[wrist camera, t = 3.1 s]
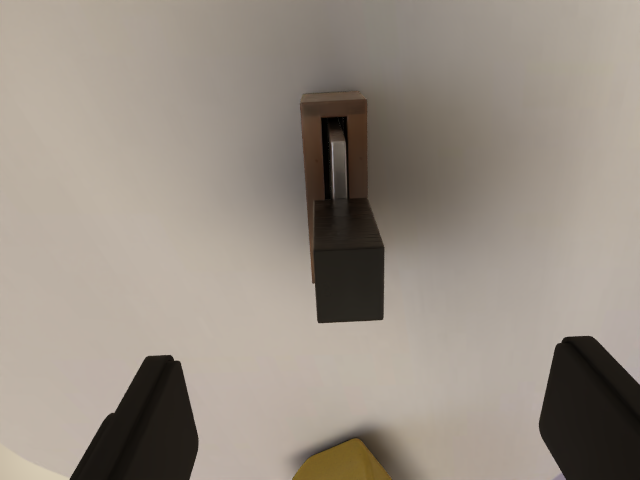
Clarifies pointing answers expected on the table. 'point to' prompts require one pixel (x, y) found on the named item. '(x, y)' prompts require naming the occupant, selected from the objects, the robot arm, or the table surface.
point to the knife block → (355, 136)
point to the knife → (346, 247)
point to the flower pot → (343, 464)
